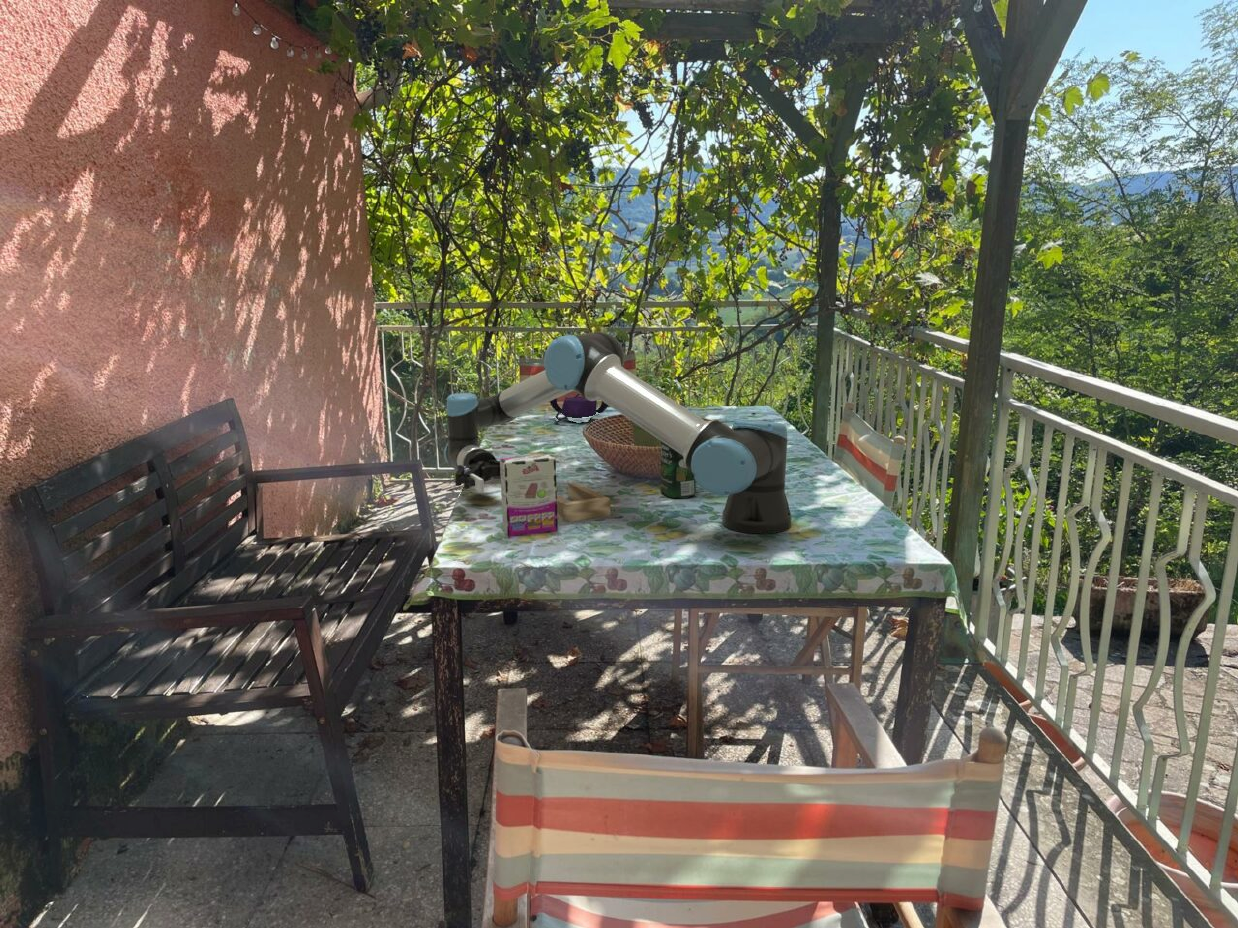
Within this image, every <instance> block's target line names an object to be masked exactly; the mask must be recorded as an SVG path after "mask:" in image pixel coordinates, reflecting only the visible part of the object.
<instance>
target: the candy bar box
mask: <svg viewBox="0 0 1238 928" xmlns="http://www.w3.org/2000/svg"><path fill="white" fill-rule="evenodd" d="M499 461H500V472H501V477H500V490H501V495H500V496H501V515H502V517H501V518H502V531H503V533H504V535H505V537H507V538H508V539H511V538H513V537H519V536H528V535H536V534H538V535H539V534H544V533H545V534H546V533H554V532H558V531H559V526H558V519H557V517H558V516H557V495H558V493H557V491H558V490H557V489H558V488H557V462H556V461H557V460H556V457H555V456H553V455H551V454H550V453H548V454H536V455H526V456H525V455H524V456H515V457H505V458H499Z"/></svg>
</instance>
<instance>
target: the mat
mask: <svg viewBox="0 0 1238 928" xmlns="http://www.w3.org/2000/svg"><path fill="white" fill-rule="evenodd" d="M563 498H564V497H563ZM564 499H566V500H568V501H570V502H572V501H571V500H569V499H568V497H565V498H564ZM619 517H624V515H623V514H621V513H620V512H617V511H615V510H613V509H611V508H610V516H604V517H598V518H592V519H586V520H579V521H573V522H565V521H563V520H561V519H560V518H558V517H557V519H558V527H562V526H568V525H569V526H570V525H575V524H580V523H587V522H592V521H593V522H594V521H601V520H607V519H612V518H619Z"/></svg>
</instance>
